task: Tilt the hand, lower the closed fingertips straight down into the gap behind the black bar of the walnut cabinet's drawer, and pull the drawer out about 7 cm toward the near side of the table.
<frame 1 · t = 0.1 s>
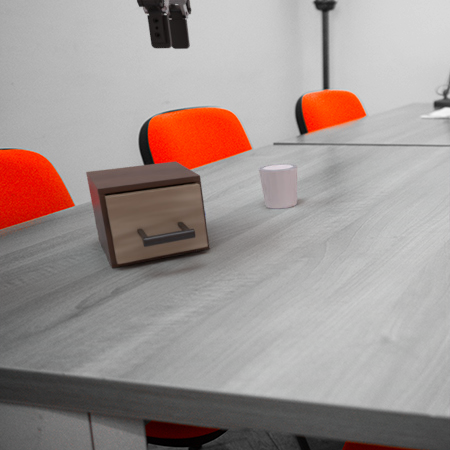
hand: (172, 48, 72), 27 cm above the table, tool pointing down, fingers open, 8 cm apart
white cup: (281, 205, 104), on the table
drawer: (154, 217, 78), point 5 cm above the table, slide at 0.5 cm
cabinet: (152, 244, 83), on the table
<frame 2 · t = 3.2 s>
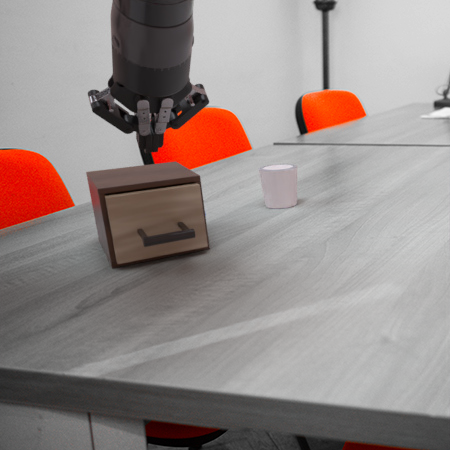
hand: (149, 147, 71), 15 cm above the table, tool tilted 45°, fingers closed
nothing on the table moved.
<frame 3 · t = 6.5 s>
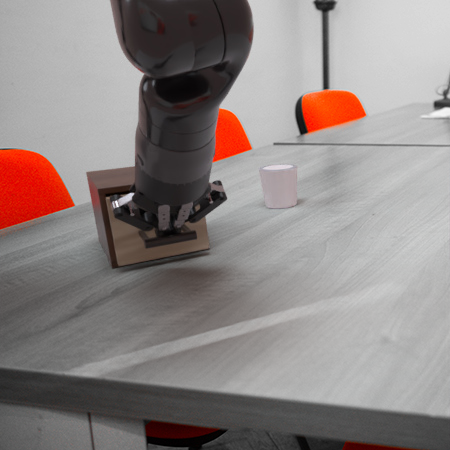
hand: (167, 237, 72), 4 cm above the table, tool tilted 45°, fingers closed
drawer: (155, 219, 77), point 5 cm above the table, slide at 1.4 cm, touching gripper
everything else where it was.
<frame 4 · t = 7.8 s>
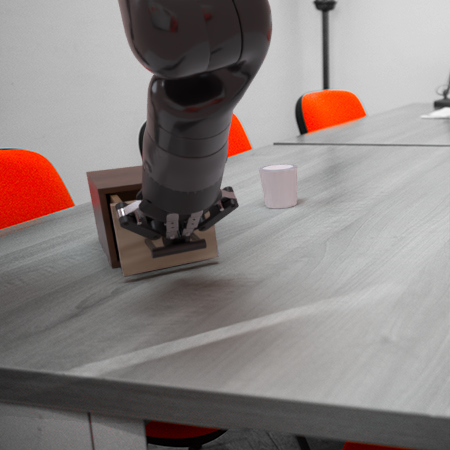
hand: (174, 245, 69), 4 cm above the table, tool tilted 45°, fingers closed
drawer: (162, 226, 73), point 5 cm above the table, slide at 5.7 cm, touching gripper
everything else where it was.
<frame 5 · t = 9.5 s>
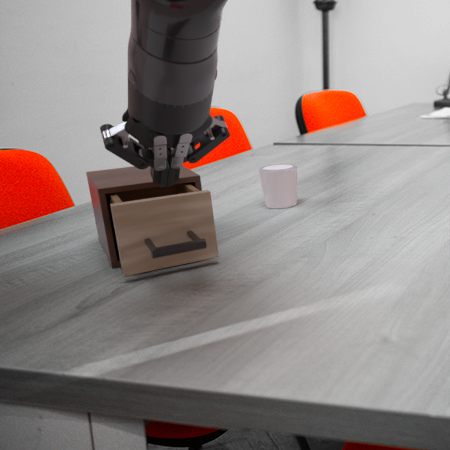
hand: (163, 180, 66), 12 cm above the table, tool tilted 45°, fingers closed
drawer: (162, 226, 73), point 5 cm above the table, slide at 5.7 cm
everything else where it was.
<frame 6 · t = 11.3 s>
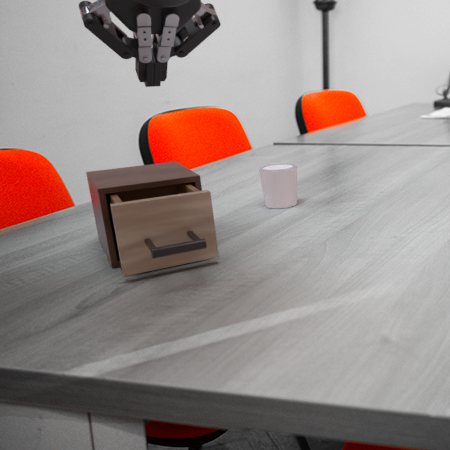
hand: (150, 80, 62), 24 cm above the table, tool tilted 45°, fingers closed
nothing on the table moved.
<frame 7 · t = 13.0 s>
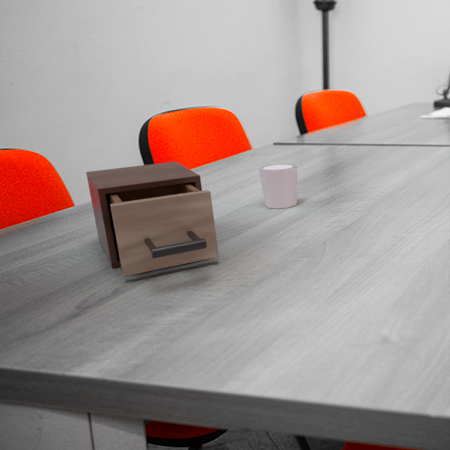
nothing on the table moved.
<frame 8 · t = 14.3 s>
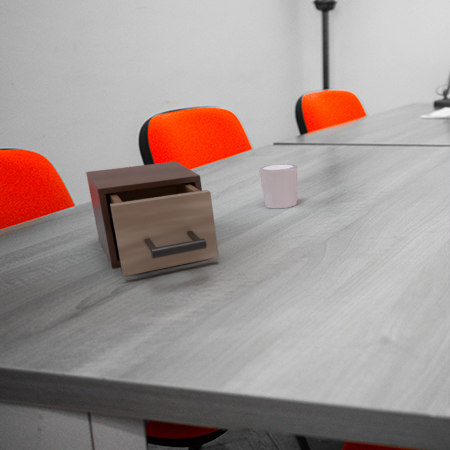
nothing on the table moved.
at the end: drawer slide at 5.7 cm; white cup moved 0.2 cm from its start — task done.
